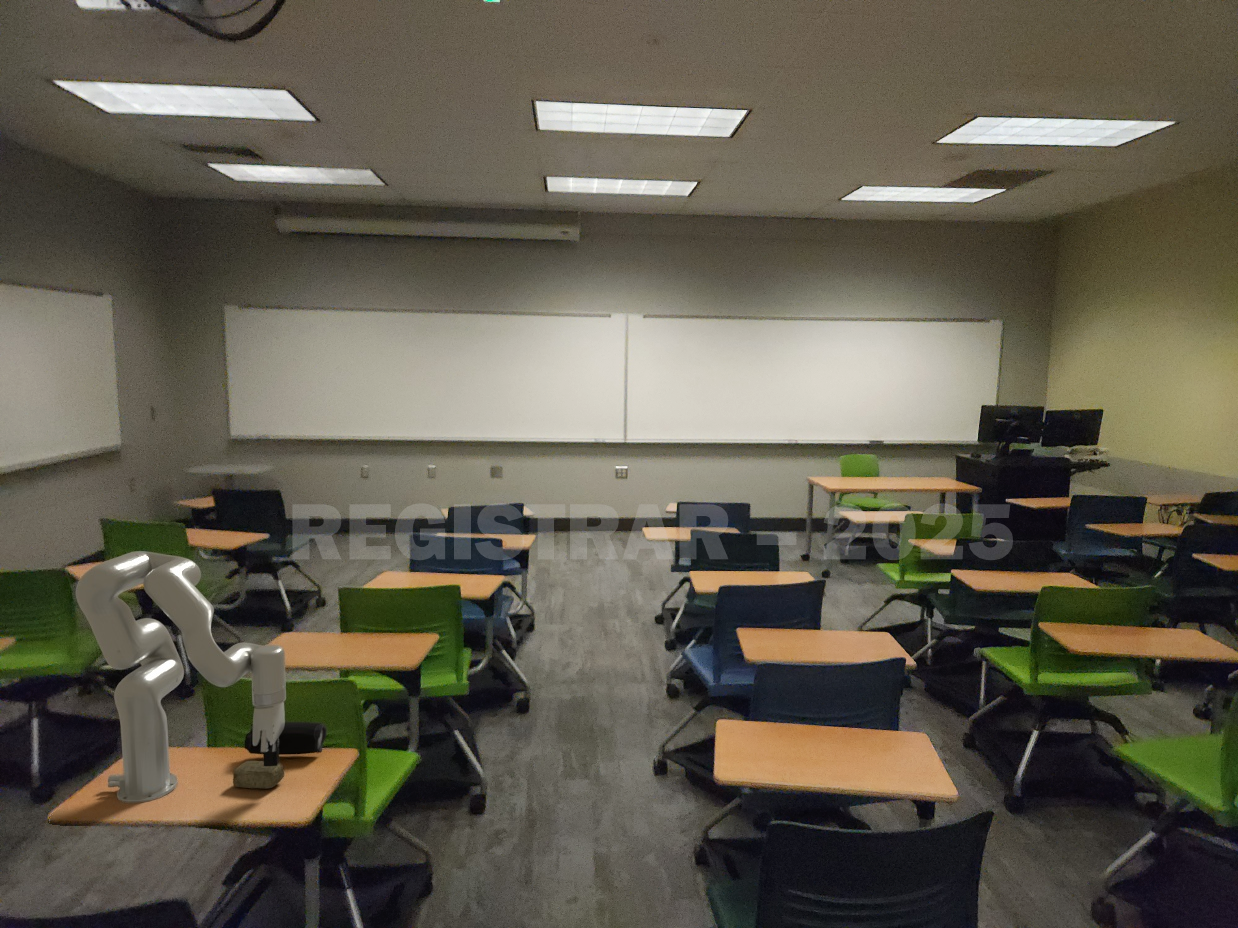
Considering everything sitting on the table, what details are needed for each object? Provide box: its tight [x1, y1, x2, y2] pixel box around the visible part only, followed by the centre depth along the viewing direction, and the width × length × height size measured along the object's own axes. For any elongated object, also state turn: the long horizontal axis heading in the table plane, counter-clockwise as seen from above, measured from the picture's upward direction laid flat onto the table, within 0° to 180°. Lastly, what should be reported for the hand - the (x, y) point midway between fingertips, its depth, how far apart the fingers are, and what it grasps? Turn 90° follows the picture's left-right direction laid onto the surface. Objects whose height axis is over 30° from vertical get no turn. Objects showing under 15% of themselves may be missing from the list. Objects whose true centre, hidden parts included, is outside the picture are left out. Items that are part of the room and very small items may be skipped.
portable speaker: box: [243, 721, 328, 756], centre depth 195 cm, size 9×9×20 cm
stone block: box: [232, 760, 285, 789], centre depth 179 cm, size 6×12×5 cm, turn 83°
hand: (271, 764), depth 176 cm, fingers closed
